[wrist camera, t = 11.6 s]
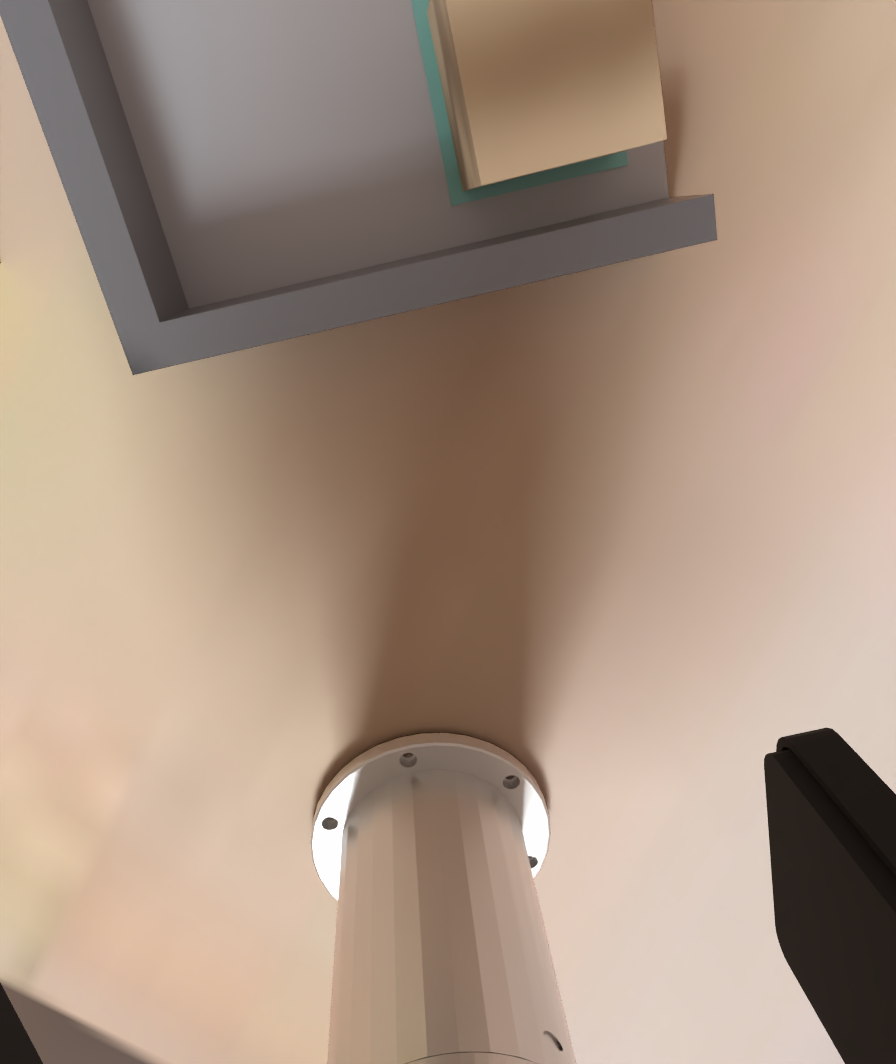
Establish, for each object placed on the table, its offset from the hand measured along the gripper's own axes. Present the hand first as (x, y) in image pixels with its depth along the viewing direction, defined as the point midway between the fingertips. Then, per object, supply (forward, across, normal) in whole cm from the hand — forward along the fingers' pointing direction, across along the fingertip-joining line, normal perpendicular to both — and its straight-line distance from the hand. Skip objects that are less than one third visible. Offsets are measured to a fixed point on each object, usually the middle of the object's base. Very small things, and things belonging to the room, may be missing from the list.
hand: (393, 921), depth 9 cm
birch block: (+26, -8, -12) cm, 29 cm away
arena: (+26, -2, -14) cm, 30 cm away
